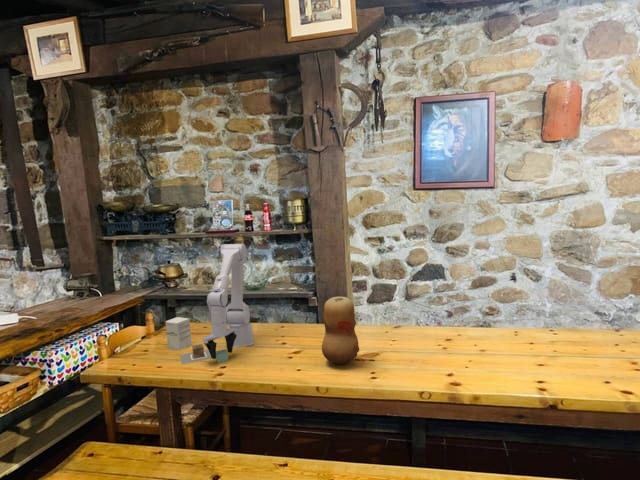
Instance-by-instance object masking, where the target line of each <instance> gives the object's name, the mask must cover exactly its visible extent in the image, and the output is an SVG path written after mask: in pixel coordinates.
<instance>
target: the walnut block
mask: <svg viewBox="0 0 640 480" xmlns="http://www.w3.org/2000/svg"><path fill="white" fill-rule="evenodd" d="M191 347H192V349H191V350H192V352H193V357H194V359H195V358H200V357H204V350H205V349H204V346H203V344H202V343H201V344H195V345H191Z"/></svg>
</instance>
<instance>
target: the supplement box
mask: <svg viewBox="0 0 640 480" xmlns="http://www.w3.org/2000/svg"><path fill="white" fill-rule="evenodd" d="M190 321H191V319H190V318H187V317H179V316H176V317H174V318H171V319H168V320H166V321H165V329H166V331H165V332H166V343H167V349H171V350H175V351H181V350H184V349H186V348H188V347H190V346H193V345H192V333H191V323H190Z"/></svg>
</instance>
